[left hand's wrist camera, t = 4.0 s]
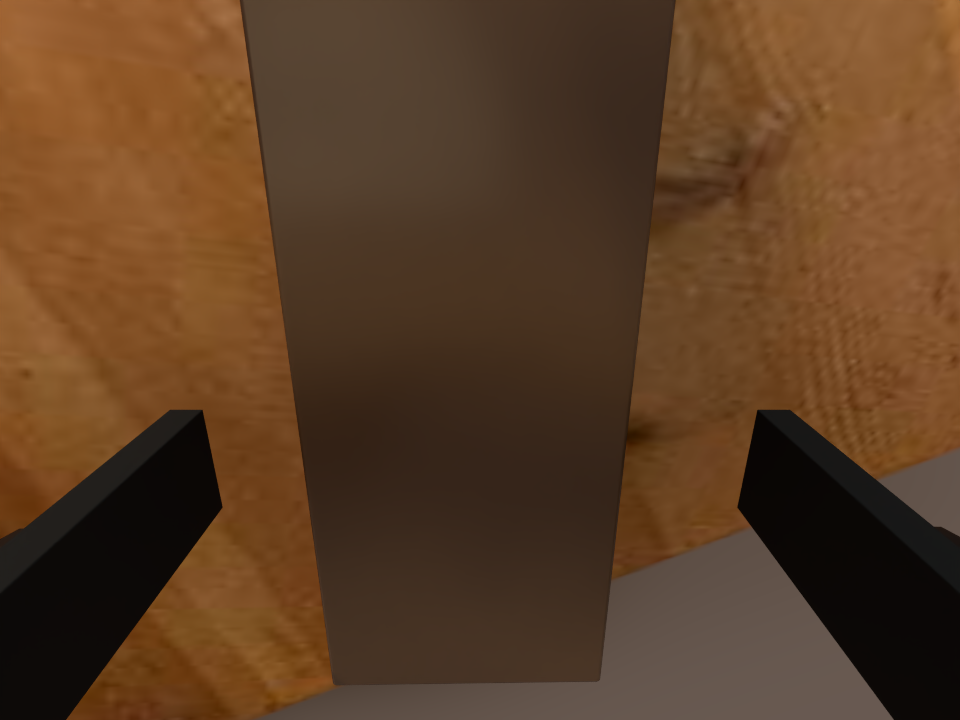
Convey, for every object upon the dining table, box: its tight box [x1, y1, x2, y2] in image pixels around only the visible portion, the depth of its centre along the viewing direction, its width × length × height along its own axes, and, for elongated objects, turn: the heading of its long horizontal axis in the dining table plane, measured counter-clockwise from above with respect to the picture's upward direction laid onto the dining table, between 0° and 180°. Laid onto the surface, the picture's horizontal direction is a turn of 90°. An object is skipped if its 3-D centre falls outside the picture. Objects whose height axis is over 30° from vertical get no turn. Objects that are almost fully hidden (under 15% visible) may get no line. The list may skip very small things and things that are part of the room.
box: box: [240, 0, 675, 685], centre depth 13 cm, size 23×6×12 cm, turn 0°
